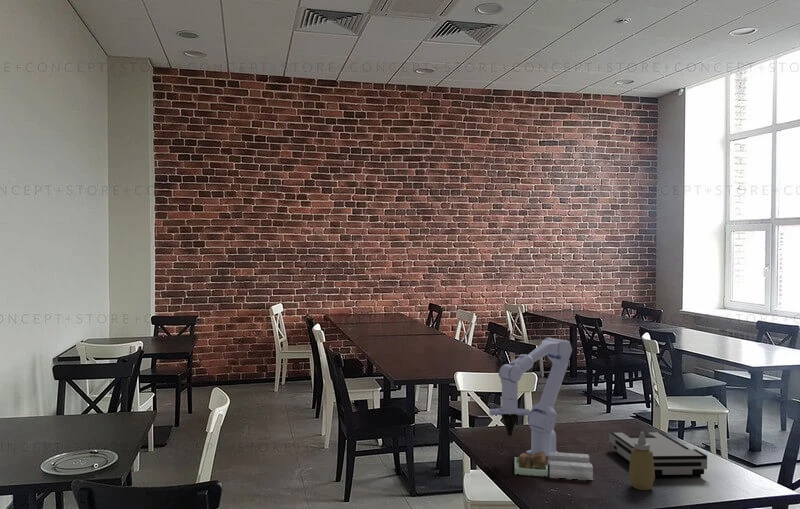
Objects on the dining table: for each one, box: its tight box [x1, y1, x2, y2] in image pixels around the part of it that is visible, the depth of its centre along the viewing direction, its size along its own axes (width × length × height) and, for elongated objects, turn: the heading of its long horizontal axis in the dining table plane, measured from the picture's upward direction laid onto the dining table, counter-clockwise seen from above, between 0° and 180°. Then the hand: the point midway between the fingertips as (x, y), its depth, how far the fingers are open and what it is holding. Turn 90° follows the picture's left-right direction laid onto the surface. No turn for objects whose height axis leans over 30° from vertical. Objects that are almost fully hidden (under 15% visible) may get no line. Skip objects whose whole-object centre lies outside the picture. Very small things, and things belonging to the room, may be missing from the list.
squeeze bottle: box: [628, 431, 656, 491], centre depth 203 cm, size 8×8×18 cm
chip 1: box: [518, 452, 533, 469], centre depth 221 cm, size 4×4×4 cm
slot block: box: [547, 451, 594, 481], centre depth 217 cm, size 14×14×4 cm
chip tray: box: [514, 456, 549, 478], centre depth 219 cm, size 11×12×2 cm
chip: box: [531, 451, 548, 469], centre depth 219 cm, size 4×4×4 cm
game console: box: [608, 431, 708, 478], centre depth 227 cm, size 21×32×8 cm, turn 4°
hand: (509, 434), depth 228 cm, fingers closed
